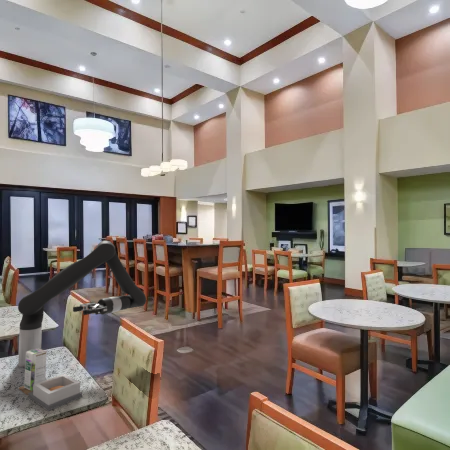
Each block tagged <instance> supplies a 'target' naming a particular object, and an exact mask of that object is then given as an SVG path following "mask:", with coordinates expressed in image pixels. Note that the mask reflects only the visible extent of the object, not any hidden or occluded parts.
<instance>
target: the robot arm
mask: <svg viewBox="0 0 450 450" xmlns="http://www.w3.org/2000/svg"><path fill="white" fill-rule="evenodd" d="M105 263H106V264H107V266H108V267H109V269H110V270H111V272H112V273H111V274H113V276H114V279H115V281H116V283H117V284H118V286H119V287H120V290H121V291H122V292H123V293H124V294H126V295H121V296H120V295H119V296H111V297H104V298H100V299H99V300H98V301H97V302H87V303H82V304H79V306H78V305H77V306H73V307H72V312H74V313H76V312H82V315H83V316H87V315H101V316H102V315H108V314H112V313H116V312H119V311H125V310H127V309H133V308H138V307H139V308H140V307H143V306H144V305H146V302H147V296H146V294H145V293H144V291H142V290H141V289H140V288H139V287H138V285H136V284H135V282H134V279H132V277H131V276H130V274H129V272H128V271H127V269H126V268H125V266H124V265H123V263H122V261H121V259H120V258H119V256H118V253H117V251H116V246H115V244H114V243H113V242H111V241H110V240H102V241H100V242H99V243H98V244H97V246H96V247H95V249H93V250H92V251H91V252H90V253H88V255H86V256H84V257H83V258H81V259H79V260H77V261H75V262H73V263H71V264H69V265H68V266H66V267H64V268H63V269H62V270H60V271H58V273H56V274H55V275H54V276H53V277H51V278H50V279H49V280H48V281H47V282H46V283H45V284H44V285H42V286H41V287H40V288H38V289H37V290H36V289H35V290H34V291H33V292H31V293H28V294H27V295H26V296H23V297H22V298H21V299H20V301H19V303H18V305H17V309H18V312H19V313H20V314H21V315H22V317H21V320H20V322H19V331H18V332H19V333H18V335H19V337H18V340H19V341H18V359H17V362H18V364H17V365H18V367H20V368H25V362H26V352H27V351H30V350H33V349H38V348H39V349H42V335H43V334H42V331H43V330H42V329H43V321H44V314H45V313H44V312H45V310H44V309H45V304H47V303H48V302H49V301H51V300H52V299H53V298H55V297H57V296H59V295H61V294H62V293H64V292H65V291H67V290H68V289H70V288H72V287H73V286H75V285H76V284H77V283H79V282H80V281H81V280H83V279H84V278H85V277H86V276H88V275H89V274H90V273H91V272H92V271H93V270H95V269H96V268H98V267H99V266H101V265H102V264H105Z"/></svg>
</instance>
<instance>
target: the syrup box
mask: <svg viewBox="0 0 450 450" xmlns="http://www.w3.org/2000/svg"><path fill="white" fill-rule="evenodd" d="M47 352H48V351H47V350H45V349H42V348H41V349H39V348H38V349H33V350H30V351H27V352H26V362H25V367H24V380H23V381H24V382H23V383H24V385H23V386H24V388H26V389H28V390H31V391H33V384H36V383H39V382H42V381H45V380H46V378H47V377H46V374H47V373H46V372H47V355H48V353H47Z"/></svg>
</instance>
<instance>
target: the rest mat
mask: <svg viewBox="0 0 450 450" xmlns="http://www.w3.org/2000/svg"><path fill="white" fill-rule="evenodd" d="M18 390H19V391H21V392H22V393H24V394H25V395H27V396H28V393H30V392H32V391H31V390H28V389H26V388H24V385H21V386H19V387H18Z"/></svg>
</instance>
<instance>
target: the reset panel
mask: <svg viewBox="0 0 450 450" xmlns="http://www.w3.org/2000/svg"><path fill="white" fill-rule="evenodd" d="M55 386H64V387H61V388H58V389H55V390H53V391H50V390H49V389H50V388H52V387H55ZM83 397H84V396H83V392H81V382H80V381H79V380H77V379H75V378H74V377H71V376H70V375H68V374H65V373H63V374H60V375H56V376H54V377H51V378H48V379H45V381H42V382H39V383H36V384H33V391H32V392H30V393H28V395H27V398H29V399H31V400H32V401H33V402H35V403H36V404H38V405H39V406H40V407H42V408H43V409H45V410H46V411H49V412H50V411H52V410H54V409H57V408H59V407H61V406H64V405H66V404H68V403H71V402H73V401H75V400H78V399H80V398H83Z"/></svg>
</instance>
